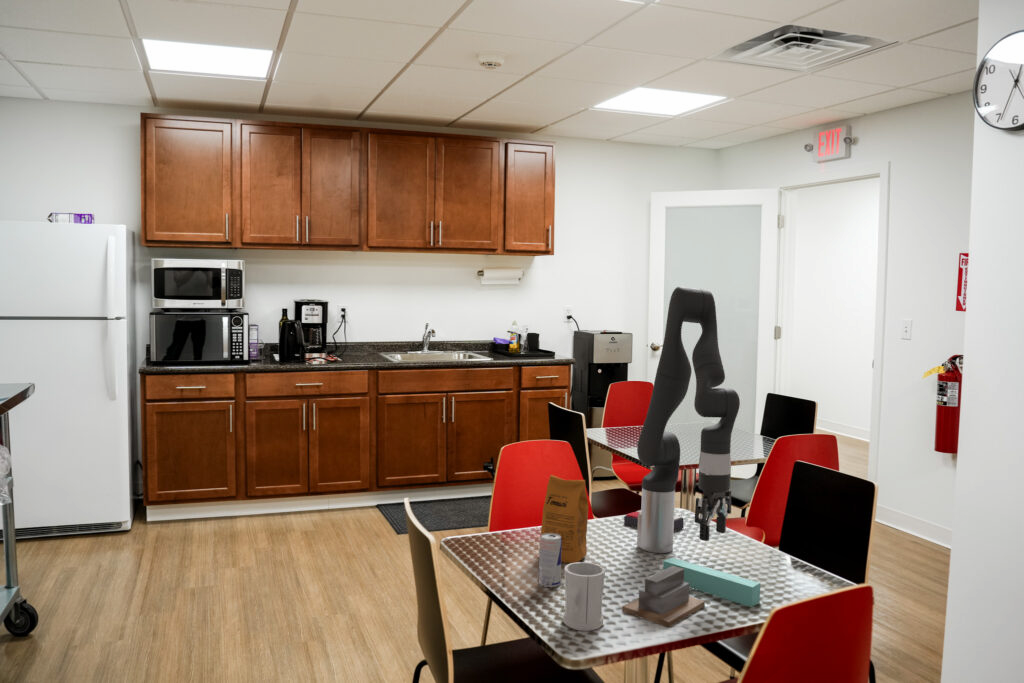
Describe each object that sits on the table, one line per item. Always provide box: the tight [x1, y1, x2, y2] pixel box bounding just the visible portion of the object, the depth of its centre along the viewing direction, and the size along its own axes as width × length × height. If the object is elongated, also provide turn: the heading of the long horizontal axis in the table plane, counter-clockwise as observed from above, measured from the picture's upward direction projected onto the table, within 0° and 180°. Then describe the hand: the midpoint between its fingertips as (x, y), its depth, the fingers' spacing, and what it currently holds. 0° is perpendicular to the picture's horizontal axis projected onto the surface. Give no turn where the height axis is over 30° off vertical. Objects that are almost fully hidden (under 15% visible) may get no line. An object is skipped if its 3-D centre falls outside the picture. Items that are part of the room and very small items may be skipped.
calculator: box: [623, 509, 684, 532], centre depth 240 cm, size 11×4×15 cm
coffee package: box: [540, 474, 589, 564], centre depth 209 cm, size 10×12×22 cm
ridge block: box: [621, 566, 706, 628], centre depth 176 cm, size 12×16×8 cm
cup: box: [562, 561, 606, 632], centre depth 166 cm, size 10×9×12 cm
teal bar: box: [662, 557, 761, 608], centre depth 188 cm, size 24×4×5 cm, turn 47°
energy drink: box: [538, 533, 562, 589], centre depth 189 cm, size 5×5×12 cm
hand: (712, 536), depth 187 cm, fingers open, 8 cm apart
